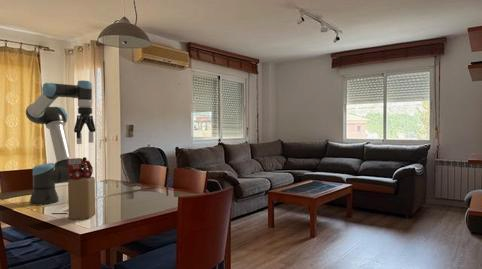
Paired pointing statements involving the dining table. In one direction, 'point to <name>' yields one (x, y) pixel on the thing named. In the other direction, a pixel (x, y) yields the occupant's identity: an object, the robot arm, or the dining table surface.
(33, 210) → the dining table surface
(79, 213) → the wooden block
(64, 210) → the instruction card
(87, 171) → the red patterned box
